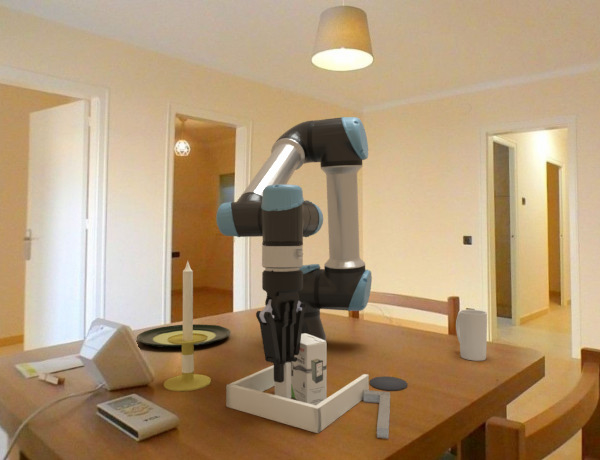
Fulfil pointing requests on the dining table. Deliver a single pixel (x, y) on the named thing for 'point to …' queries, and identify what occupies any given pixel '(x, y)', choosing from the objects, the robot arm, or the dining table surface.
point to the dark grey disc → (388, 383)
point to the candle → (187, 343)
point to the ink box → (310, 371)
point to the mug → (472, 334)
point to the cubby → (292, 401)
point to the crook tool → (380, 410)
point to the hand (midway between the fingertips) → (282, 397)
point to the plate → (163, 333)
